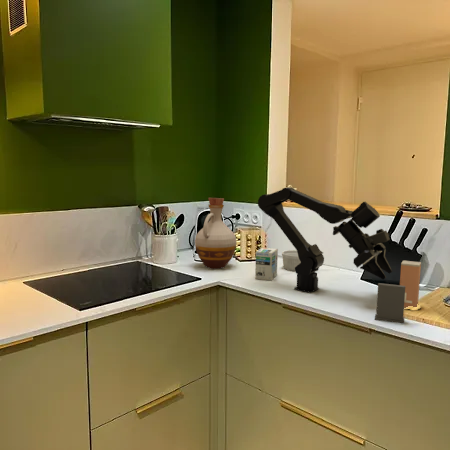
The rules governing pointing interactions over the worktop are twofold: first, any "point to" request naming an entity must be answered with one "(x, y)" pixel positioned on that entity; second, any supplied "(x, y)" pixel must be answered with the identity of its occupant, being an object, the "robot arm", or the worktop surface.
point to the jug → (215, 238)
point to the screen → (390, 303)
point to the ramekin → (290, 259)
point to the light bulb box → (266, 263)
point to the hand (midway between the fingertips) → (388, 275)
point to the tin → (410, 282)
